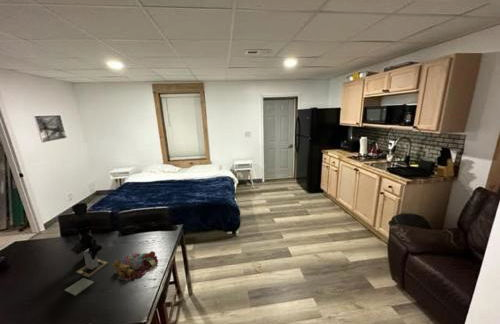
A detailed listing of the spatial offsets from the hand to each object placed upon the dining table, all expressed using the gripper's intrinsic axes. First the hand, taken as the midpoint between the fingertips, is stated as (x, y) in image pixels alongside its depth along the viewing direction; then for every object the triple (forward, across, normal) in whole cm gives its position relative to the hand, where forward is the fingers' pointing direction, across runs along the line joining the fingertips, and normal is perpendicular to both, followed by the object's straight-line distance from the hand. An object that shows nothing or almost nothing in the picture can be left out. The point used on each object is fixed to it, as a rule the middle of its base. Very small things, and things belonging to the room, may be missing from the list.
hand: (90, 258), depth 137 cm
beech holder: (+8, 0, 0) cm, 8 cm away
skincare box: (+7, 0, 0) cm, 7 cm away
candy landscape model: (+9, +27, +11) cm, 30 cm away
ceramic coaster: (+8, +9, -13) cm, 18 cm away
